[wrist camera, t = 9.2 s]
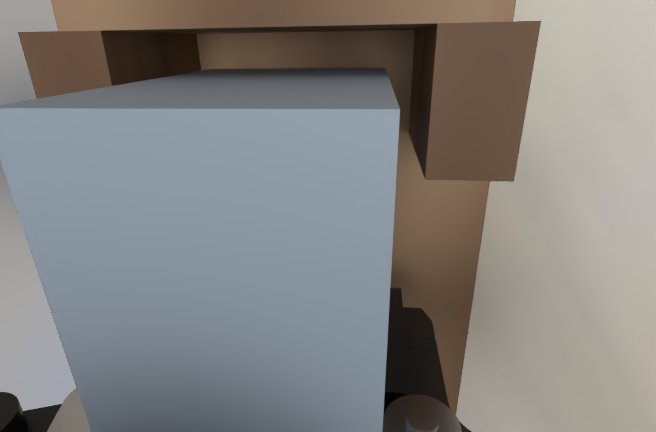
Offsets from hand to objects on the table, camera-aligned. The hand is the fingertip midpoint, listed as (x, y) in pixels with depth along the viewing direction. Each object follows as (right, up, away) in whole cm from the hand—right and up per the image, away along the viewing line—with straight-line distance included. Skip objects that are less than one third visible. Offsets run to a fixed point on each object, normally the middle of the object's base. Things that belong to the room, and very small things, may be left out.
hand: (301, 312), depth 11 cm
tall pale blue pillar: (0, 0, 0) cm, 1 cm away
